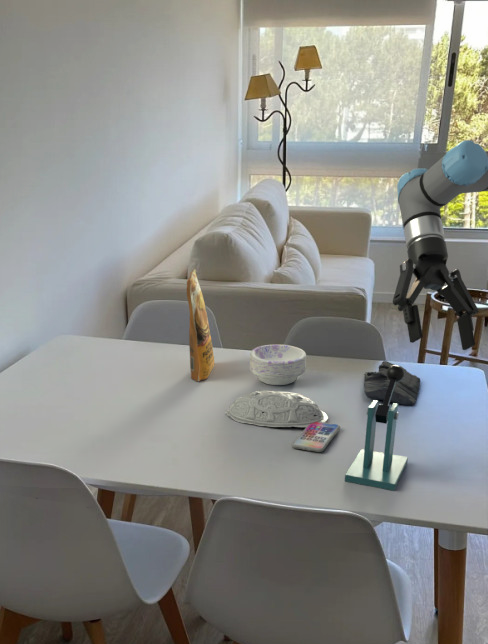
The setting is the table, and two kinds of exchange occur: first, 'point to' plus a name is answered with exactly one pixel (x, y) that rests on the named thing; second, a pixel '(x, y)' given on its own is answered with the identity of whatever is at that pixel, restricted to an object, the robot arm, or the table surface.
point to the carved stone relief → (276, 409)
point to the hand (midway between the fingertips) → (443, 343)
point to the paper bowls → (277, 363)
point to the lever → (389, 393)
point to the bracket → (378, 455)
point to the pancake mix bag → (199, 332)
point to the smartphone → (316, 436)
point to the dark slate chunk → (402, 392)
